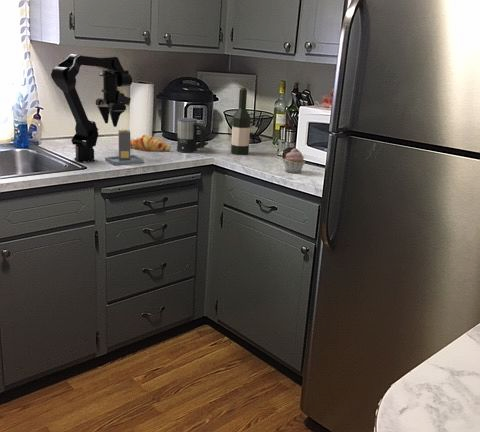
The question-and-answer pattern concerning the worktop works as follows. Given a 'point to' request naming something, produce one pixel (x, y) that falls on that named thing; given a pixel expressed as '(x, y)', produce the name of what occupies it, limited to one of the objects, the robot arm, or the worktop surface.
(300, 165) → the cupcake
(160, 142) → the croissant
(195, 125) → the milk frother
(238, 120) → the wine bottle
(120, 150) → the caddy
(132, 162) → the tray
